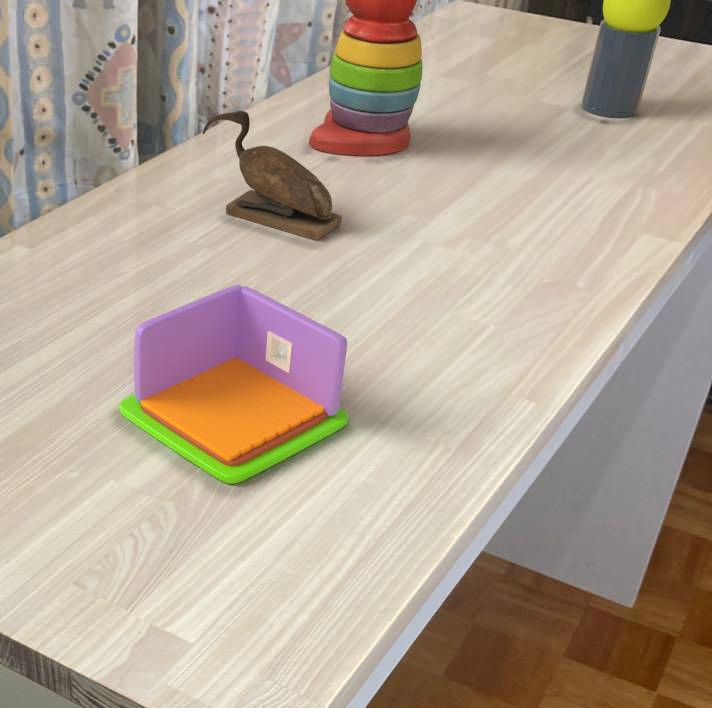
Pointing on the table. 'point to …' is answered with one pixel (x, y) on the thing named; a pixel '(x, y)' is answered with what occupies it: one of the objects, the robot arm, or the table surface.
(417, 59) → the stacking bear
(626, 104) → the cup
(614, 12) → the tennis ball
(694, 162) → the table surface
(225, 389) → the miniature room corner
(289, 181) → the figurine
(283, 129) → the table surface
